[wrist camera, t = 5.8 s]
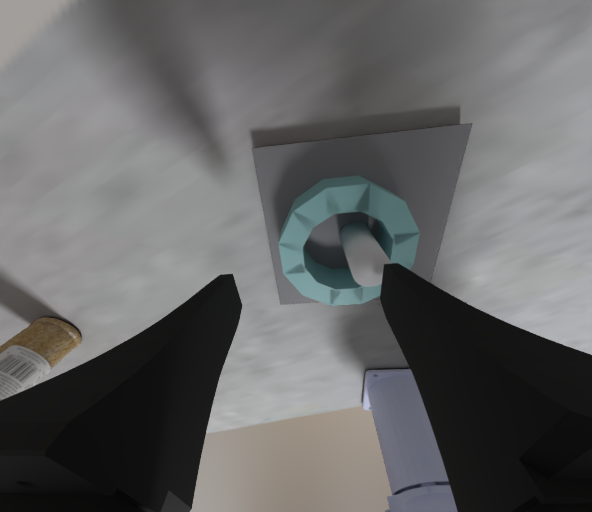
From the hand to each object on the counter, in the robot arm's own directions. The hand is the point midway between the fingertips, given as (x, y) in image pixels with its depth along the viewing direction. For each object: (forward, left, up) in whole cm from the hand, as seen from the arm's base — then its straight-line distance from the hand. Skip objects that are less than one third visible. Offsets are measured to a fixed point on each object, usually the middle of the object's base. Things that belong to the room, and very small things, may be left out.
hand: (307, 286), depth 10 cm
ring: (-2, 0, -5) cm, 6 cm away
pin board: (-3, 0, -6) cm, 7 cm away
